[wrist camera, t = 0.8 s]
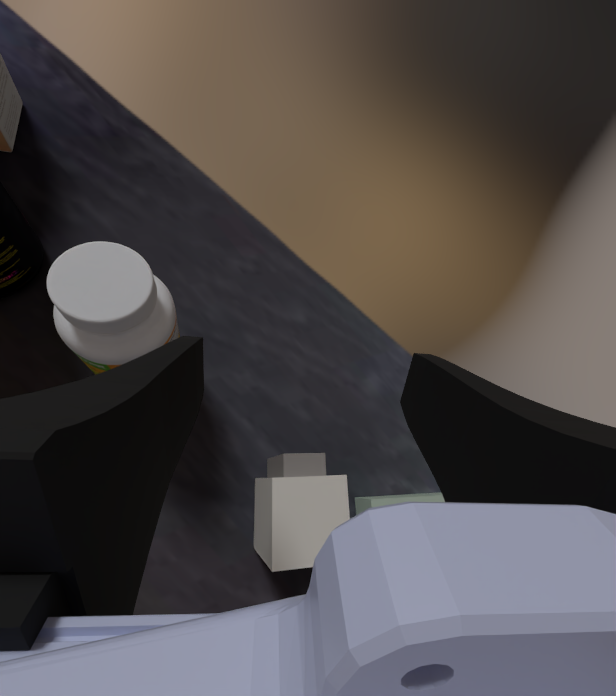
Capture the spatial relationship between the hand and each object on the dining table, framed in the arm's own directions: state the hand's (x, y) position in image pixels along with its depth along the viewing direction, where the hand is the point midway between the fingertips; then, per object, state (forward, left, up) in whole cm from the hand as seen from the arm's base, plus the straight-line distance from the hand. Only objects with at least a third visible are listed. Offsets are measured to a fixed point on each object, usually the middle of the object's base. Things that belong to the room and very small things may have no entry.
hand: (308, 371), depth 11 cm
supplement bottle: (+5, +8, -13) cm, 16 cm away
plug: (-5, -2, -13) cm, 14 cm away
